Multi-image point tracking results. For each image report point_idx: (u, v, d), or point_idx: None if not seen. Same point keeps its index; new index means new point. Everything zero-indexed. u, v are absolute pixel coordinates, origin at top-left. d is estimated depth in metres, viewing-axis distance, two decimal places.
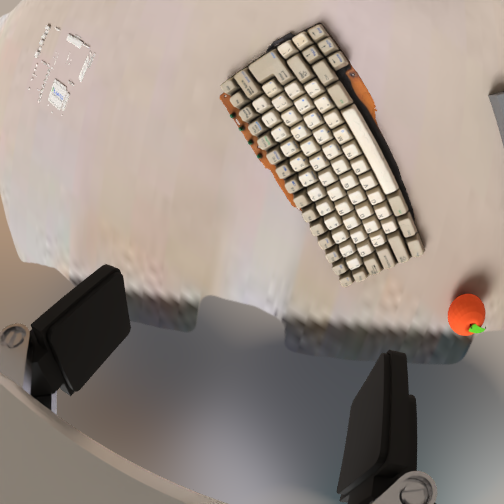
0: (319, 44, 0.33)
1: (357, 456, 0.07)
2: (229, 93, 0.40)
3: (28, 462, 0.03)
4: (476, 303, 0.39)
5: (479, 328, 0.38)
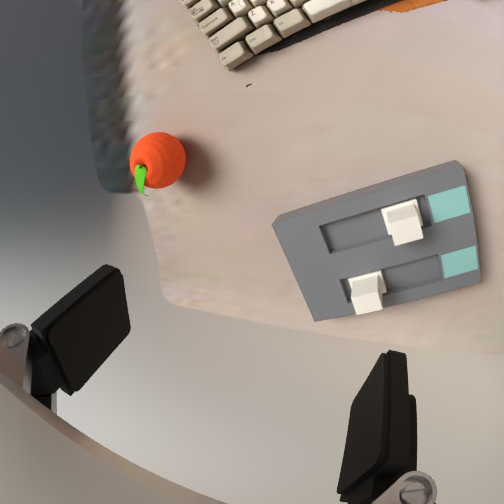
0: None
1: (357, 456, 0.07)
2: None
3: (28, 462, 0.03)
4: (174, 165, 0.34)
5: (142, 181, 0.34)
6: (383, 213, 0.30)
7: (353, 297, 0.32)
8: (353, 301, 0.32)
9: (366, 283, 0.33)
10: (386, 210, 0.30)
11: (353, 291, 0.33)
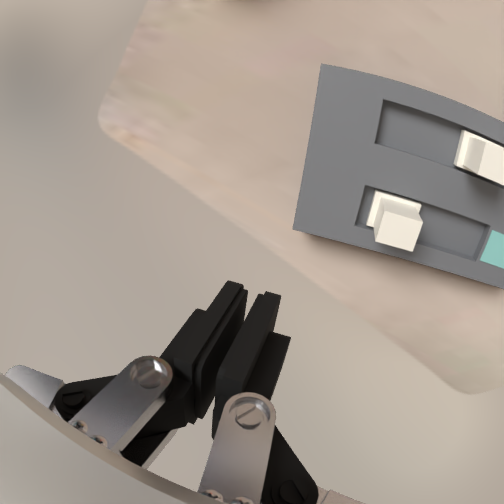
0: None
1: None
2: None
3: (28, 462, 0.03)
4: None
5: None
6: (465, 136, 0.19)
7: (387, 212, 0.20)
8: (384, 218, 0.20)
9: (402, 207, 0.22)
10: (470, 135, 0.18)
11: (386, 206, 0.21)
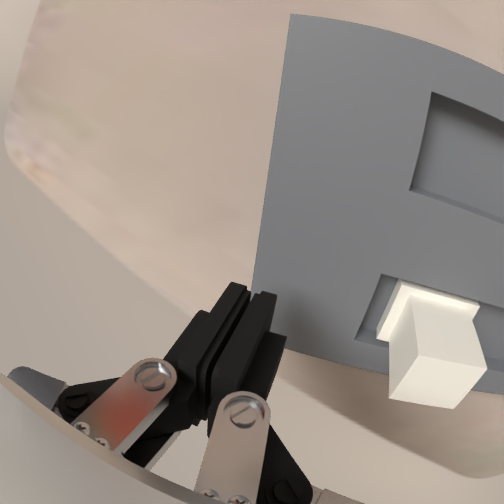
0: None
1: None
2: None
3: (28, 462, 0.03)
4: None
5: None
6: None
7: (424, 356, 0.08)
8: (415, 366, 0.09)
9: (450, 323, 0.10)
10: None
11: (421, 333, 0.09)
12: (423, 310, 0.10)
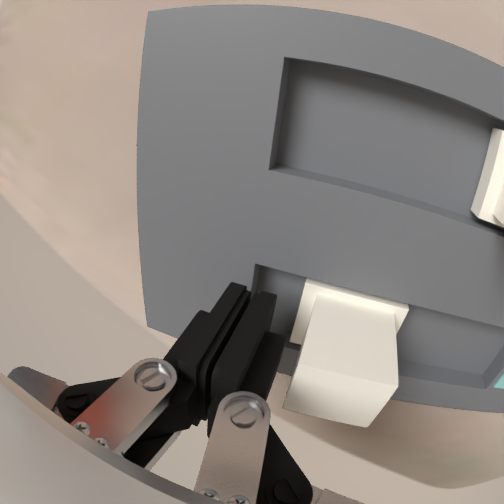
0: None
1: None
2: None
3: (28, 462, 0.03)
4: None
5: None
6: (503, 145, 0.07)
7: (308, 365, 0.08)
8: (299, 376, 0.08)
9: (360, 329, 0.10)
10: None
11: (313, 338, 0.09)
12: (327, 312, 0.10)
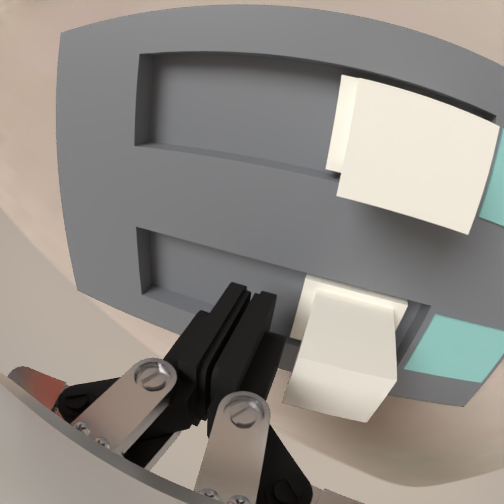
0: None
1: None
2: None
3: (28, 462, 0.03)
4: None
5: None
6: (344, 90, 0.08)
7: (307, 359, 0.08)
8: (298, 370, 0.09)
9: (359, 324, 0.10)
10: None
11: (312, 332, 0.09)
12: (327, 307, 0.10)
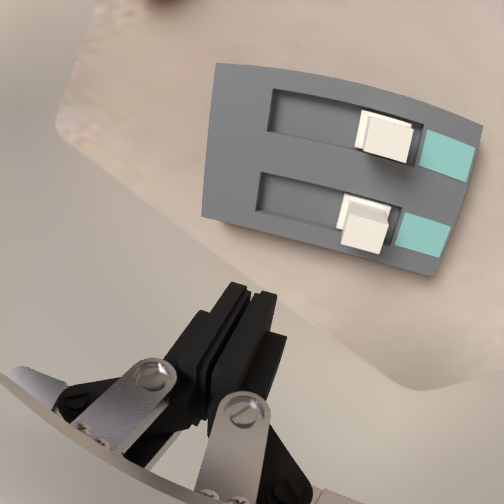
0: None
1: None
2: None
3: (28, 462, 0.03)
4: None
5: None
6: (362, 116, 0.21)
7: (352, 215, 0.21)
8: (349, 221, 0.21)
9: (370, 210, 0.23)
10: (368, 114, 0.21)
11: (352, 209, 0.22)
12: (355, 204, 0.23)
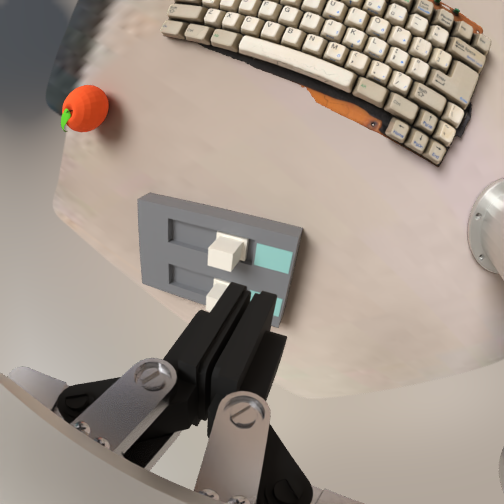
0: (426, 138, 0.27)
1: None
2: (476, 34, 0.19)
3: (28, 462, 0.03)
4: (92, 120, 0.35)
5: (64, 122, 0.34)
6: (217, 235, 0.39)
7: (208, 296, 0.39)
8: (207, 299, 0.40)
9: None
10: (220, 235, 0.39)
11: (211, 291, 0.40)
12: (217, 286, 0.41)
